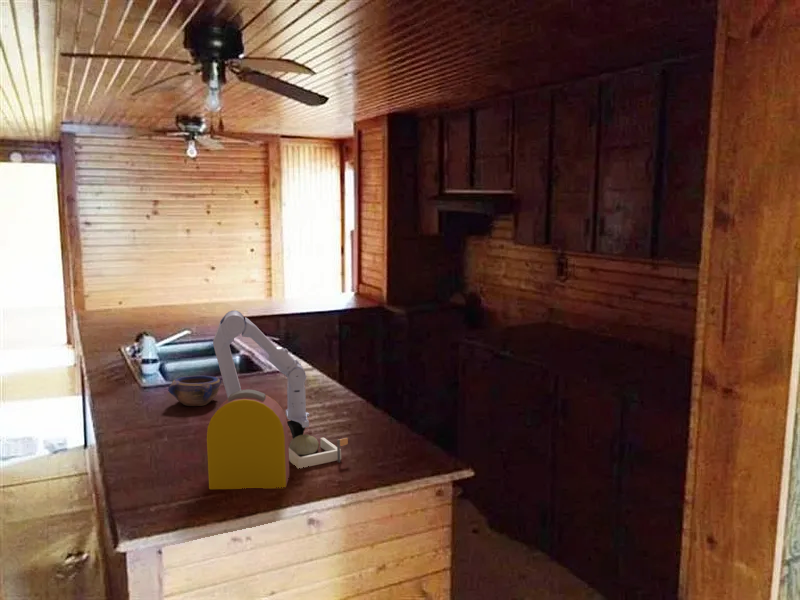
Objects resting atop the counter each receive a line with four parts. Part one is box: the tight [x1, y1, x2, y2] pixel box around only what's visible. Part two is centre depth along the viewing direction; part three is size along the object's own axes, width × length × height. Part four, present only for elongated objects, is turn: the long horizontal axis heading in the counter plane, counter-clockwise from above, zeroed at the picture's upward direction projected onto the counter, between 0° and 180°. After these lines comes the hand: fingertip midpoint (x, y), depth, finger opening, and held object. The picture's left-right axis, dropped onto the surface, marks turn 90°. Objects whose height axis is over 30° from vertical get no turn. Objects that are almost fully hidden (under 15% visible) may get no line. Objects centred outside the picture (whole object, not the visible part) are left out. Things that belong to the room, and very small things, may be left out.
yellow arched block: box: [206, 388, 290, 490], centre depth 187 cm, size 21×9×26 cm, turn 92°
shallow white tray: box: [289, 437, 349, 470], centre depth 206 cm, size 16×14×7 cm
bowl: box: [167, 375, 222, 407], centre depth 261 cm, size 18×18×10 cm
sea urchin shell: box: [289, 434, 320, 456], centre depth 211 cm, size 9×8×8 cm
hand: (297, 442), depth 216 cm, fingers closed
